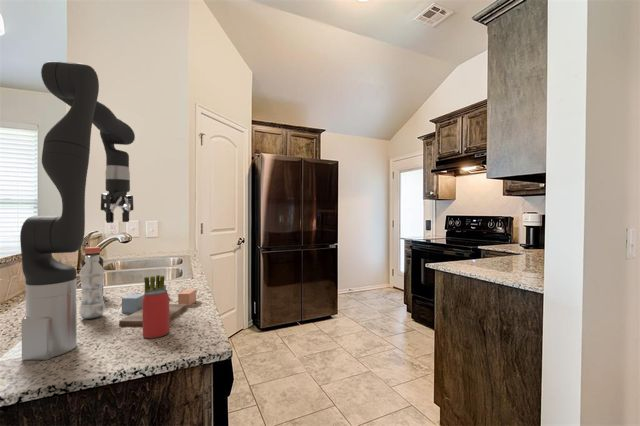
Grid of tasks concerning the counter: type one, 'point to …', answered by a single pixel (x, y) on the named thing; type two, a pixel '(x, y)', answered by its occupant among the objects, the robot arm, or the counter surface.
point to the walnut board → (137, 317)
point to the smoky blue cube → (132, 303)
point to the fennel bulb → (152, 283)
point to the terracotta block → (187, 297)
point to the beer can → (155, 313)
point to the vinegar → (93, 252)
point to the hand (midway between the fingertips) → (118, 222)
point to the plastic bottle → (92, 288)
